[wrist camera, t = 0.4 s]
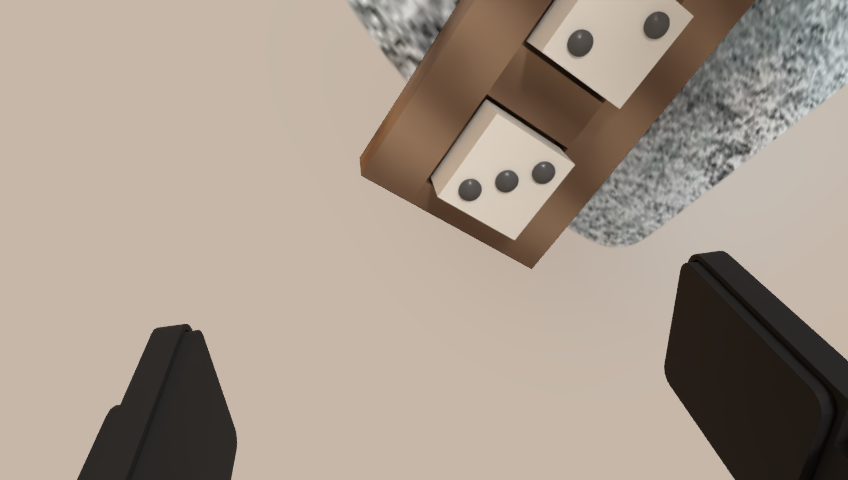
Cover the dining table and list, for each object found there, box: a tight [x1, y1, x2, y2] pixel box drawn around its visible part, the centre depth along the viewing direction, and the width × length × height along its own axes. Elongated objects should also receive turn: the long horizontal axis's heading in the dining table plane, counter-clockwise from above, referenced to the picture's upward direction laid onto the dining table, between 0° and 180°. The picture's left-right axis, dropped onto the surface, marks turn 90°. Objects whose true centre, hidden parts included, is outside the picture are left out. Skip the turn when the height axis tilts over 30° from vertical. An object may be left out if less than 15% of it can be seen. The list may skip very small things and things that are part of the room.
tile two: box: [527, 0, 694, 109], centre depth 33 cm, size 6×6×3 cm
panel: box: [360, 0, 755, 269], centre depth 35 cm, size 30×14×3 cm, turn 146°
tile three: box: [431, 99, 575, 240], centre depth 36 cm, size 6×6×3 cm
